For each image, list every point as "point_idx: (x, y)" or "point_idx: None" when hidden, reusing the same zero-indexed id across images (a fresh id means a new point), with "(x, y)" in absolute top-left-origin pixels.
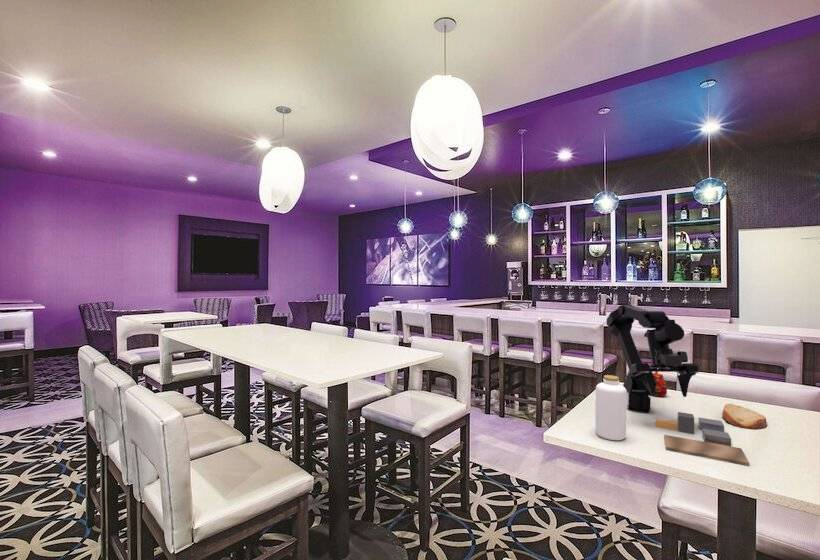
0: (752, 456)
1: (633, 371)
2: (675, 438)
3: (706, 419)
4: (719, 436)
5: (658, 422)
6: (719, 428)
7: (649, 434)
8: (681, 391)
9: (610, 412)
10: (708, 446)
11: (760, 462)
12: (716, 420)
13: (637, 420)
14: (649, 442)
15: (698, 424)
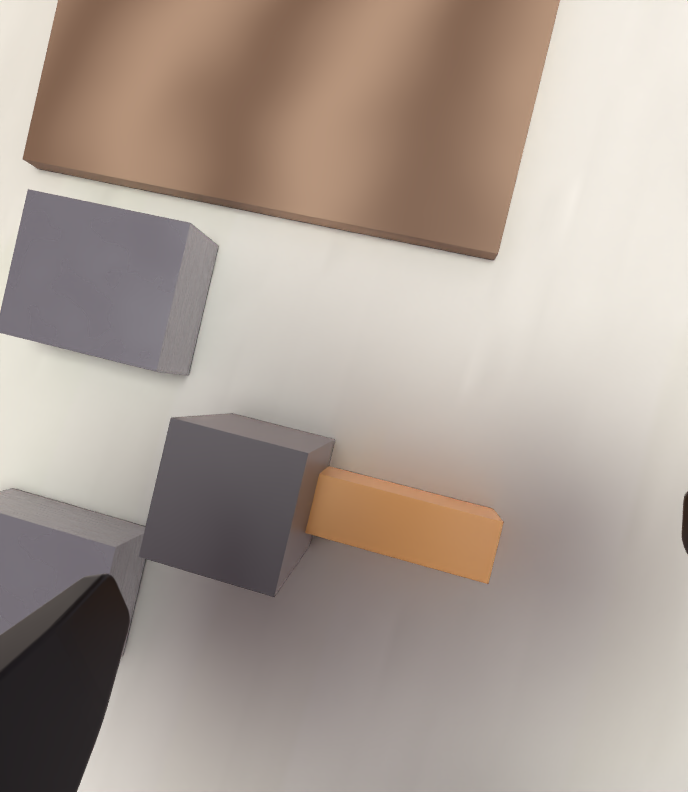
0: (7, 100)
1: None
2: (430, 188)
3: None
4: (94, 210)
5: (477, 512)
6: (10, 502)
7: (602, 287)
8: (94, 739)
9: None
10: (232, 104)
11: (4, 13)
12: None
13: (620, 639)
14: (653, 93)
15: None
